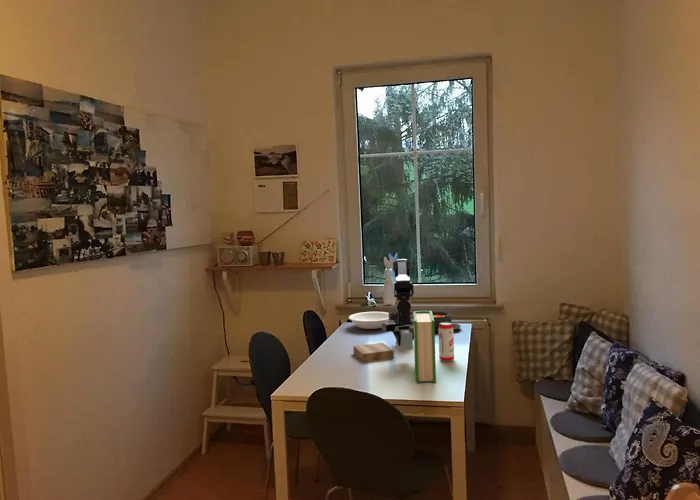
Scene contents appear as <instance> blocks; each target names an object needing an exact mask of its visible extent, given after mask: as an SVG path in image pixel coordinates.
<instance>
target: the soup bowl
mask: <svg viewBox="0 0 700 500" xmlns="http://www.w3.org/2000/svg"><path fill="white" fill-rule="evenodd" d="M389 313H390V312H386V311H365V312H364V311H363V312H357V313H353V314H350V315H349V317H348V320H349V321H352V323H353V324H354V326H356V327H358V328H360V329H363V330H364V329H365V330H376V329H380V328H381V329H382V324H383V323H386V322H390V321H389Z"/></svg>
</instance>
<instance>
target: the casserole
mask: <svg viewBox="0 0 700 500" xmlns="http://www.w3.org/2000/svg"><path fill="white" fill-rule="evenodd" d="M431 311H432V310H431ZM432 314H433V318H434V329H435V333H439V325H440V323H441V322H450V323H452V326H453V331H455V330H458V329H460V328H461V325H460V324H459V323H453V322H452V320H453V318H454V317H453V316H452V314H451V313H450V312H447V311H437V310H436V311H435V310H434V311H432Z"/></svg>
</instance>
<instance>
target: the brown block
mask: <svg viewBox="0 0 700 500" xmlns="http://www.w3.org/2000/svg"><path fill="white" fill-rule="evenodd" d="M352 350H353V355H354V356H355V357H357V359H359V360H361V362H362V363H367V362H375V361H383V360H389V359H394V358H395V356H394V355H395V353H394V352H395V351H394V349H393V348H391V347H390V346H388V345H387V344H385V343H384V342H378V343H377V342H375V343H368V344H362V345H361V344H360V345H354V346H353V349H352Z"/></svg>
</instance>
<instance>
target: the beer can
mask: <svg viewBox="0 0 700 500" xmlns="http://www.w3.org/2000/svg"><path fill="white" fill-rule="evenodd" d="M452 323H453V322H451V323H450V322H441V323H440V325H439V332H438V354H439V355H438V356H439V357H438V358H439V360H440V361H441V362H442V361H443V363H450V361H451V362H453V361H454V360H455V343H454V341H455V339H454V337H455V336H454V330H453V326H452ZM452 360H453V361H452Z"/></svg>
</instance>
